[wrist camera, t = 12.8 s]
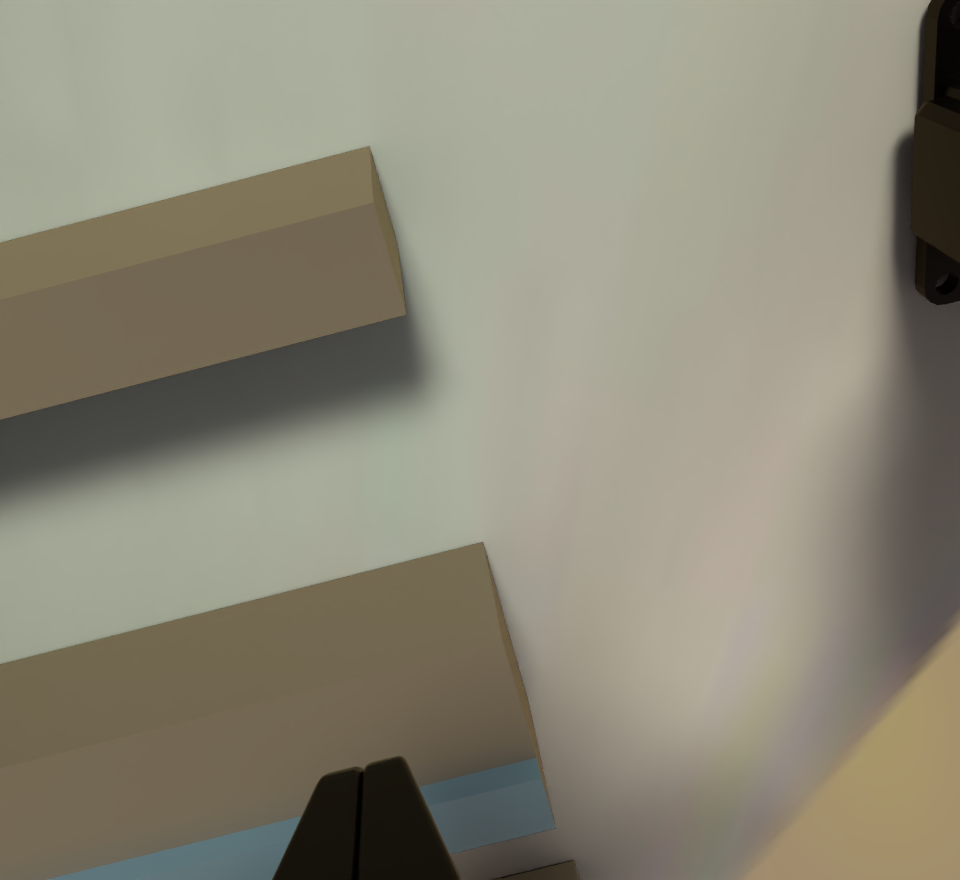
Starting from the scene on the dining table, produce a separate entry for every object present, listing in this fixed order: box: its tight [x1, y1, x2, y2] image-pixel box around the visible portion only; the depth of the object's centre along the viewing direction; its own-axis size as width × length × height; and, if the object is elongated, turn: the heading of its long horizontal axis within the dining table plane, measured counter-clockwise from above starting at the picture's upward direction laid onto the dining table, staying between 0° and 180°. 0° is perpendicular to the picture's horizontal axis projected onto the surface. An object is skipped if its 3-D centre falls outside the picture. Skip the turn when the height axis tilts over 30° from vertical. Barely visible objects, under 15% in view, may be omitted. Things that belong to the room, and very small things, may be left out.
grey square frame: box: [0, 146, 580, 880], centre depth 22 cm, size 16×26×5 cm, turn 13°
